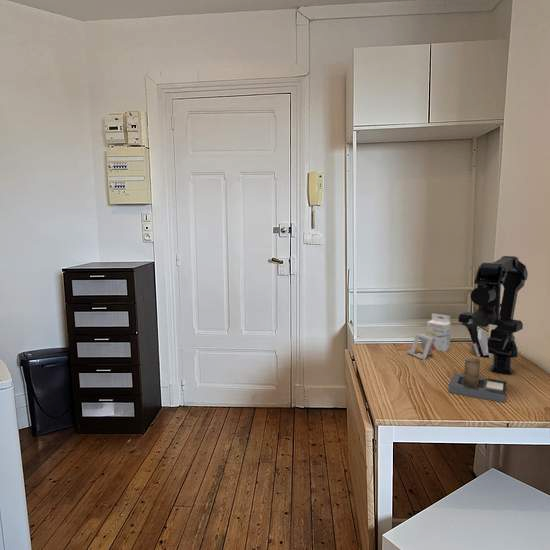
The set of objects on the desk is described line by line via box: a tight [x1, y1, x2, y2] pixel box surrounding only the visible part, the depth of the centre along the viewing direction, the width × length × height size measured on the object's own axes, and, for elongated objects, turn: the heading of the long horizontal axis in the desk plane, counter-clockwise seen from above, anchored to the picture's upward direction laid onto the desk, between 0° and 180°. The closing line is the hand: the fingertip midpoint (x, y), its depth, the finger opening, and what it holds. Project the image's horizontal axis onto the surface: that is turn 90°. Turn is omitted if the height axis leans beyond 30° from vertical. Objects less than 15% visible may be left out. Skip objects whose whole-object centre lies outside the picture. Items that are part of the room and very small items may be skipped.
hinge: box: [472, 329, 492, 359], centre depth 175 cm, size 17×5×10 cm, turn 150°
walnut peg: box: [463, 357, 481, 388], centre depth 136 cm, size 4×4×10 cm
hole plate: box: [448, 372, 507, 403], centre depth 135 cm, size 12×16×3 cm
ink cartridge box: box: [426, 312, 451, 352], centre depth 179 cm, size 9×5×15 cm, turn 47°
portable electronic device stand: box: [406, 332, 436, 361], centre depth 170 cm, size 9×8×8 cm
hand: (487, 346), depth 140 cm, fingers open, 9 cm apart
